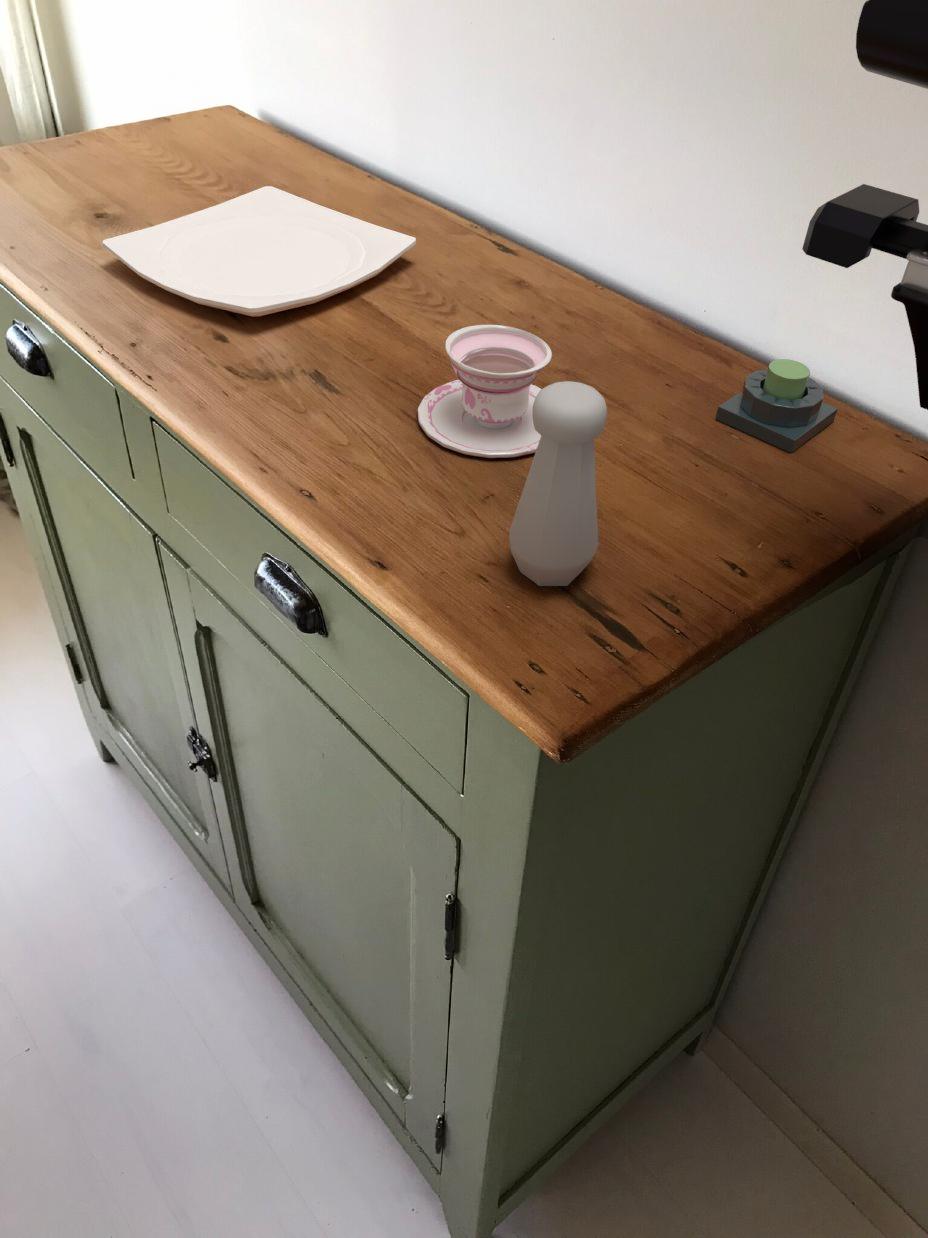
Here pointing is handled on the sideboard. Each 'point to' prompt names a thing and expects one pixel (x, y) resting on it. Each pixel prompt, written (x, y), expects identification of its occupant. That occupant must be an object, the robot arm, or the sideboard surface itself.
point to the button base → (777, 413)
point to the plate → (260, 253)
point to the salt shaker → (560, 487)
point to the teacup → (487, 393)
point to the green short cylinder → (786, 379)
